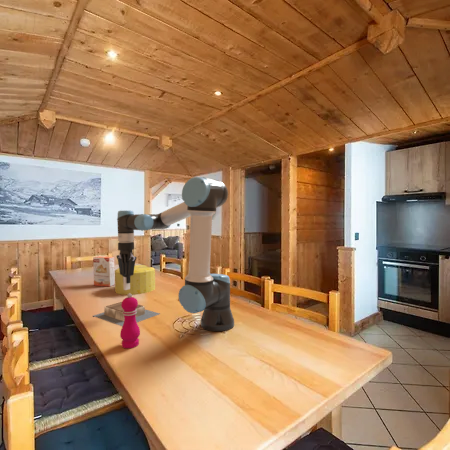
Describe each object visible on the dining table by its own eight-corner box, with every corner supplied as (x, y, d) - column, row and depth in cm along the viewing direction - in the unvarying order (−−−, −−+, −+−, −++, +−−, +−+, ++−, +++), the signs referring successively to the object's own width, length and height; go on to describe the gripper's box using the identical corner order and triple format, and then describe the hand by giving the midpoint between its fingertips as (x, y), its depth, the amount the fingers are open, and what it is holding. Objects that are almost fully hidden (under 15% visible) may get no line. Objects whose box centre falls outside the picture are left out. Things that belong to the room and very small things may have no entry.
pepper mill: (133, 339, 116) (132, 289, 115) (144, 344, 111) (143, 292, 111) (116, 345, 110) (115, 293, 110) (127, 351, 106) (126, 297, 105)
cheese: (160, 285, 208) (159, 264, 207) (146, 295, 182) (146, 271, 181) (125, 284, 210) (125, 264, 210) (107, 294, 184) (107, 271, 184)
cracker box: (93, 285, 208) (92, 257, 207) (99, 284, 213) (98, 255, 213) (109, 287, 204) (109, 257, 203) (115, 285, 209) (114, 256, 209)
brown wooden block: (144, 305, 144) (125, 300, 153) (123, 312, 134) (104, 306, 144) (144, 314, 144) (125, 308, 153) (123, 321, 134) (104, 314, 144)
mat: (160, 314, 145) (160, 313, 145) (124, 328, 128) (124, 326, 128) (128, 305, 160) (128, 304, 160) (92, 316, 143) (92, 315, 143)
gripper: (111, 241, 142) (112, 289, 143) (127, 243, 135) (128, 293, 135) (124, 240, 148) (125, 286, 149) (140, 241, 141) (141, 289, 142)
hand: (126, 289), depth 142 cm, fingers closed
